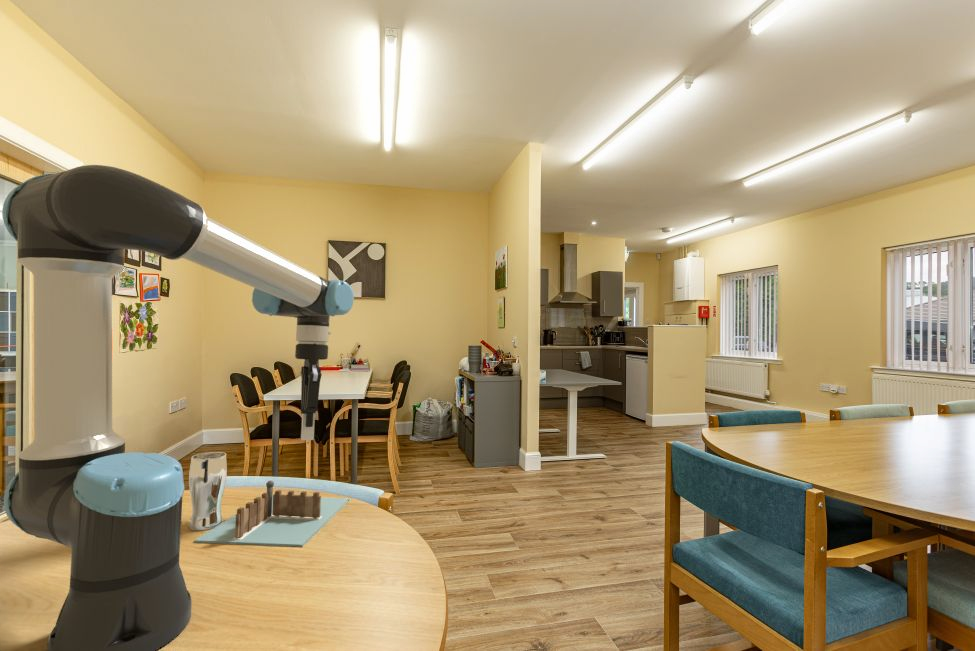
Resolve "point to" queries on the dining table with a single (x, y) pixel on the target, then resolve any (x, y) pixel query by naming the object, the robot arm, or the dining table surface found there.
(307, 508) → the fence panel
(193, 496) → the beer glass
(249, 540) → the board
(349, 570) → the dining table surface
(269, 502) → the fence fixed
